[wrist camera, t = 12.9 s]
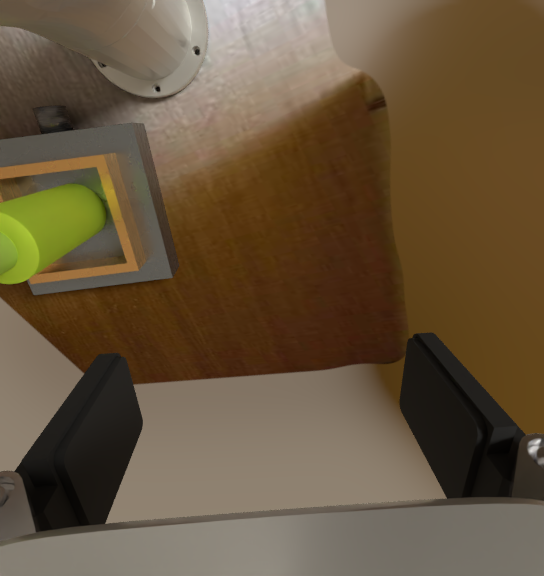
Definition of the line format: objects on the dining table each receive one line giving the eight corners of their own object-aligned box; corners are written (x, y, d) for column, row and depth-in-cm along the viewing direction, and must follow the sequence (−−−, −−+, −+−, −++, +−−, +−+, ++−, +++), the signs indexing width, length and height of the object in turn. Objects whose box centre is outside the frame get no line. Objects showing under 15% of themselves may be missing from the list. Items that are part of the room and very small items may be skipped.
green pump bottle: (74, 251, 39) (-80, 356, 21) (39, 193, 36) (-175, 257, 18) (120, 236, 39) (4, 329, 21) (88, 175, 36) (-81, 222, 18)
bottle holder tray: (-19, 118, 37) (-76, 116, 30) (137, 99, 37) (113, 92, 30) (51, 281, 45) (18, 306, 38) (179, 265, 45) (166, 288, 38)
